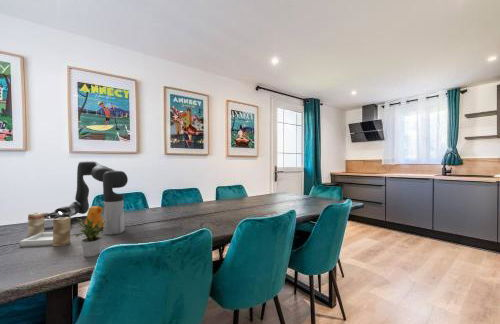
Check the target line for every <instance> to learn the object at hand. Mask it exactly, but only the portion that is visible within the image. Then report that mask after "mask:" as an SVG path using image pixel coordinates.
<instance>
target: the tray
mask: <svg viewBox="0 0 500 324" xmlns="http://www.w3.org/2000/svg"><path fill="white" fill-rule="evenodd" d="M39 246H53V231H50V232H49V231H48V232H47V231H46V232H45V231H44V232H43V233H39V234H36V235H34V236H28V237H26V238H24V239H22V240H20V241H19V247H20V248H21V247H39Z"/></svg>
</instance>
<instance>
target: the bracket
mask: <svg viewBox="0 0 500 324" xmlns="http://www.w3.org/2000/svg"><path fill="white" fill-rule="evenodd" d="M103 213H104V207H102V206H99V205H92V206H89V209H88V211H87V213H86V214H87V215H86V217H87V218H88V219H89V220H90V221H91V222H92V220H93V218H95V219H94V220H93V229H94V227H95V225H96V224H97V223H99V221H100V219H101V221H100V224H99V226H100V225H101V224H102V223H103V222H104V219H103V217H102V214H103ZM94 216H95V217H94ZM87 218H85V221H84V223H85V224H87ZM87 225H88V224H87ZM83 226H84V225H83ZM84 227H85V226H84ZM84 227H83V228H84ZM98 228H99V227H98ZM98 228H97V229H98ZM102 228H104V223H103V224H102V225H101V226H100V228H99V229H102Z"/></svg>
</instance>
